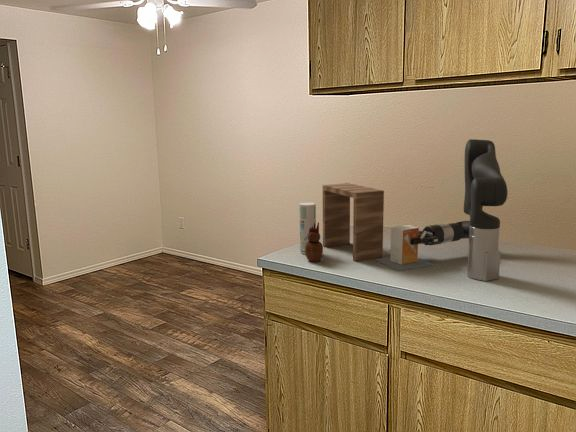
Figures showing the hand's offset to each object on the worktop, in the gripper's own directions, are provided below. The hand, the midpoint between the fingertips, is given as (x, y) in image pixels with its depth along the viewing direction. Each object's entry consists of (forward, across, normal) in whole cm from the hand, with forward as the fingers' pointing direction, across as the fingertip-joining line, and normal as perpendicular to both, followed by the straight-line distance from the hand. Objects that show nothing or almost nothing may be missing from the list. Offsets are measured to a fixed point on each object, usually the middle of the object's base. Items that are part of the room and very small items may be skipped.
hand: (403, 239), depth 180 cm
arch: (+9, -22, +9) cm, 25 cm away
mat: (0, 0, +9) cm, 9 cm away
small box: (0, 0, +9) cm, 9 cm away
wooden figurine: (+28, -18, +9) cm, 34 cm away
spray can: (+25, -29, +9) cm, 39 cm away
